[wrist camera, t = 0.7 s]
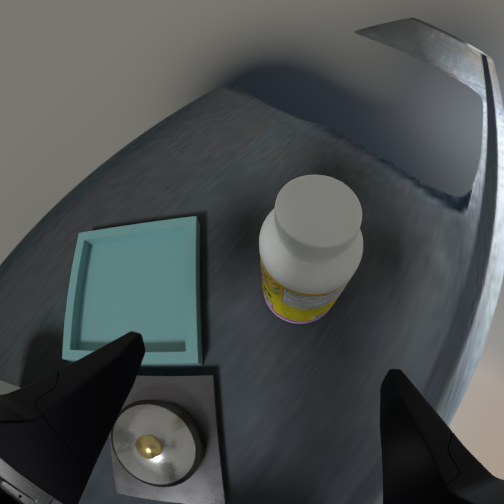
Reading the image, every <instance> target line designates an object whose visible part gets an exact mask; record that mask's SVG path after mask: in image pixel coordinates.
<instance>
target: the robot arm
mask: <svg viewBox="0 0 504 504" xmlns="http://www.w3.org/2000/svg"><path fill="white" fill-rule="evenodd" d="M144 355H145V345H144V341H143V337H142V335H141V334H140V333H138V332H134V331H130V332H128V333H126V334H125V335H123V336H121V337H119V338H117V339H116V340H114V341H112V342H110V343H108V344H106V345H105V346H103V347H101V348H99V349H97V350H95V351H94V352H92V353H90V354H88V355H86V356H84V357H83V358H81V359H79V360H77V361H75V362H73V363H72V364H70V365H68V366H66V367H64V368H62V369H60V371H57V372H55V373H53V374H51V375H49V376H47V377H45V378H43V379H41V380H39V381H37V382H34V383H32V384H30V385H27V386H25V387H22V388H20V389H17V390H15V391H12V392H10V393H7V394H2V395H0V504H51V503H52V501H53V499H54V498H55V499H56V500H58V501H60V502H61V503H63V504H78V503H79V500H80V498H81V496H82V493H83V491H84V489H85V487H86V484H87V482H88V480H89V478H90V475H91V473H92V470H93V468H94V466H95V464H96V462H97V460H98V457H99V455H100V453H101V451H102V449H103V447H104V445H105V442H106V440H107V438H108V436H109V434H110V432H111V430H112V428H113V426H114V424H115V422H116V419H117V417H118V415H119V413H120V411H121V409H122V407H123V405H124V403H125V401H126V399H127V397H128V395H129V393H130V391H131V389H132V387H133V385H134V382H135V379H136V377H137V374H138V371H139V369H140V366H141V363H142V361H143V358H144ZM380 433H381V447H382V466H383V504H504V480H501V479H499V478H497V477H495V476H493V475H492V474H491V473H490V472H489V471H488V470H487V469H486V468H485V467H484V466H483V465H482V464H481V463H480V462H479V461H478V460H477V459H476V458H475V457H474V456H473V455H472V454H471V453H470V452H469V451H468V450H467V449H466V448H465V446H464V445H463V444H462V443H461V442H460V441H459V439H458V438H457V437H456V436H455V434H454V433H452V431H451V430H450V428H449V427H448V426H447V424H446V423H445V422H444V421H443V420H442V418H441V417H440V416H439V415H438V413H437V412H436V411H435V410H434V409H433V407H432V406H431V405H430V404H429V403H428V401H427V400H426V399H425V398H424V397H423V395H422V394H421V393H420V392H419V391H418V389H417V388H416V387H415V386H414V385H413V384H412V382H411V381H410V380H409V379H408V378H407V377H406V375H405V374H404V373H403V372H402V371H401V370H399V369H390V370H389V371H388V373H387V375H386V376H385V378H384V380H383V382H382V384H381V389H380Z"/></svg>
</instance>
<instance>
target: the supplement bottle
mask: <svg viewBox="0 0 504 504" xmlns="http://www.w3.org/2000/svg"><path fill="white" fill-rule="evenodd" d="M361 222H362V208H361V204H360V202H359V200H358V198H357V196H356V195H355V193H354V192H353V191H352V190H351V189H350V188H349V187H348V186H347V185H345V184H344V183H343V182H341V181H339V180H337V179H335V178H332V177H329V176H324V175H306V176H301V177H298V178H295V179H293V180H291V181H290V182H288V183H287V184H286V185H285V186H284V187H283V188H282V189H281V190H280V192H279V193H278V196H277V198H276V202H275V208H274V209H273V210H272V211H271V212H270V213H269V214H268V216H267V217H266V219H265V221H264V223H263V225H262V228H261V231H260V236H259V251H260V262H261V275H262V287H263V294H264V298H265V301H266V303H267V305H268V306H269V308H270V309H271V310H272V312H273V313H274V314H275V315H277V316H278V317H279V318H281V319H283V320H285V321H287V322H290V323H296V324H305V323H310V322H313V321H316V320H318V319H320V318H321V317H323V316H324V315H325V314H326V313H327V312H328V311H329V310H330V309H331V307H332V306H333V305H334V303H335V302H336V300H337V299H338V297H339V296H340V294H341V293H342V291H343V290H344V288H345V286H346V285H347V283H348V282H349V281H350V279H351V278H352V276H353V275H354V273H355V271H356V270H357V268H358V266H359V264H360V261H361V258H362V254H363V237H362V233H361V230H360V226H361Z"/></svg>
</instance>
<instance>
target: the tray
mask: <svg viewBox="0 0 504 504" xmlns="http://www.w3.org/2000/svg"><path fill="white" fill-rule="evenodd" d="M130 331H134V332H138V333H140V334H141V335H142V337H143V341H144V345H145V355H144V358H143V361H142V363H141V366H192V365H203V355H202V331H201V297H200V224H199V222H198V219H197V216H192V217H184V218H176V219H169V220H161V221H154V222H147V223H140V224H133V225H126V226H120V227H113V228H107V229H101V230H95V231H89V232H83V233H79V236H78V240H77V245H76V250H75V255H74V260H73V265H72V271H71V277H70V283H69V290H68V297H67V305H66V314H65V324H64V335H63V351H62V359H64V360H68V361H71V362H75V361H77V360H79V359H81V358H83V357H84V356H86V355H88V354H90V353H92V352H94V351H95V350H97V349H99V348H101V347H103V346H105V345H106V344H108V343H110V342H112V341H114V340H116V339H117V338H119V337H121V336H123V335H125V334H126V333H128V332H130Z"/></svg>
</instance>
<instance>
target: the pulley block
mask: <svg viewBox="0 0 504 504" xmlns="http://www.w3.org/2000/svg"><path fill="white" fill-rule="evenodd" d="M109 436H110V446H111V455H112V464H113V471H114V478H115V484H116V490H117V493H120V494H124V495H129V496H134V497H140V498H145V499H152V500H158V501H166V502H175V503H185V504H226V503H227V498H226V490H225V481H224V472H223V463H222V453H221V443H220V432H219V420H218V408H217V395H216V381H215V376H214V375H207V376H137V377H136V379H135V382H134V385H133V387H132V389H131V391H130V393H129V395H128V397H127V399H126V401H125V403H124V405H123V407H122V409H121V411H120V413H119V415H118V417H117V419H116V422H115V424H114V426H113V428H112V430H111V432H110V434H109Z"/></svg>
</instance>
